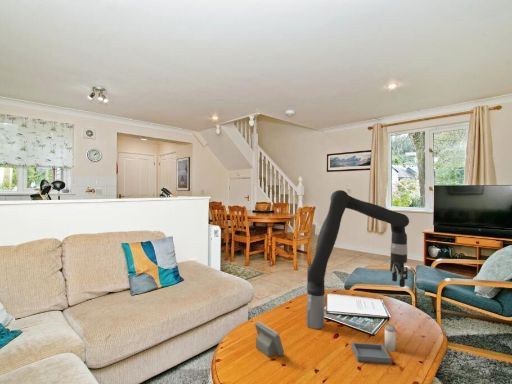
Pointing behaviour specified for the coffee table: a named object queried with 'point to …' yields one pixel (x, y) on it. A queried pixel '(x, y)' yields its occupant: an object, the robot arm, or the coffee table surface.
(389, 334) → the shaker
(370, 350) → the tray
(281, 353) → the digital clock
